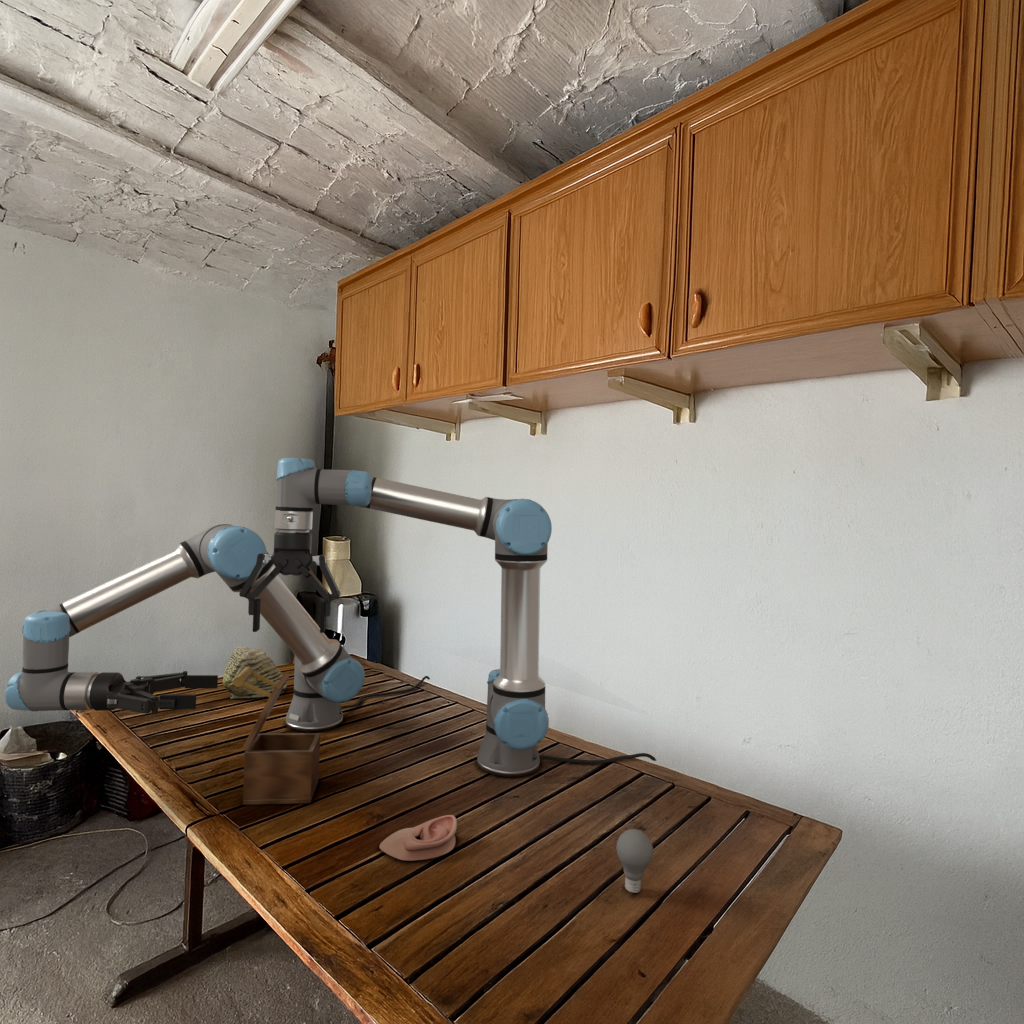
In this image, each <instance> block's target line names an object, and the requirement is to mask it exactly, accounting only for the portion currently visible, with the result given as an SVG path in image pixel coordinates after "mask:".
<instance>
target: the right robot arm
mask: <svg viewBox="0 0 1024 1024" xmlns="http://www.w3.org/2000/svg"><path fill="white" fill-rule="evenodd" d="M315 464H316V463H315V461H314V459H310V458H302V457H301V458H299V457H282V458H280V459H279V460H278V461H277V470H276V478H275V511H274V529H275V530H277V531H275V533H273V552H272V554H270V553H269V554H265V553H260V554H258V556H257V561H256V565H255V567H254V568H253V570H252V572H251V574H250V576H249V577H248V579H247V581H246V583H245V584H244V586H243V588H242V590H241V591H240V592H238V593H239V597H241V598H245V599H247V600H248V606H247V607H248V610H247V612H248V613H247V614H248V616H252V633H257V632H258V631H259V630H260V628H261V614H260V605H261V599H256V598H257V596H258V595H259V594H260V593H261V592H262V591H263V590H264V589H265V588H266V587H267V586H268V585H269V584H270V583H271V582H272V581H273V579H274V578H275V577H276V576H277V575H278V576H279V574H281V575H282V576H291V575H292V576H295V577H298V576H301V575H303V577H305V578H306V579H307V581H308V582H309V583H310V584H311V585H312V587H313V588H314V589H315V590H316V592H317V593H318V594H319V595H320V596H321V597H322V600H321V602H320V618H319V621H320V622H319V628H320V633H324V634H325V631H326V630H327V629H326V628H327V627H326V626H327V617H330V616H331V615H332V607H333V606H332V605H333V601H334V600H338V599H340V597H341V596H342V594H341V591H340V589H339V587H338V585H337V582H336V581H335V578H334V576H333V574H332V571H331V570H330V568H329V566H328V559H327V555H326V554H324V553H323V554H320V555H313V553H312V540H313V534H312V532H310V531H312V529H313V518H314V517H313V515H314V512H313V511H314V508H313V507H314V505H332V506H349V507H359V508H365V509H370V510H375V511H379V512H384V513H388V514H393V515H399V516H402V517H408V518H411V519H416V520H417V519H418V520H422V521H427V522H431V523H435V524H441V525H445V526H450V527H454V528H460V529H464V530H469V531H472V532H474V533H475V534H476V536H477V537H481V538H485V539H489V540H492V541H494V561H495V562H496V563H497V564H498V566H500V568H501V581H500V582H501V583H500V584H501V587H500V599H501V600H500V651H499V652H500V655H499V657H500V659H499V661H500V662H499V664H500V666H499V668H497V669H492V670H490V672H489V673H488V677H487V682H486V684H487V695H486V696H487V697H486V698H487V699H486V718H485V719H486V721H485V723H486V724H485V733H484V735H483V738H482V741H481V744H480V747H479V749H478V752H477V757H476V764H477V766H478V768H479V769H480V770H482V771H483V772H485V773H488V774H490V775H492V776H498V777H505V778H506V777H507V778H517V777H518V778H519V777H524V776H529V775H531V774H533V773H536V771H538V770H539V768H540V763H541V762H540V761H541V760H546V761H547V760H548V761H554V762H562V763H563V762H564V763H574V764H582V765H583V764H585V765H600V764H602V765H603V764H609V763H614V762H618V761H622V760H630V759H636V758H641V757H642V758H644V757H645V758H648V759H650V760H651V761H653V762H656V761H657V759H656V757H655V756H653V754H652V755H651V754H650V753H646V752H638V753H634V754H628V755H625V754H624V755H618V756H615V757H611V758H604V759H578V758H567V757H559V756H550V755H541V754H540V753H539V749H538V746H537V745H539V744H540V743H541V742H542V741H543V740H544V739H545V737H546V736H547V733H548V730H549V727H550V725H549V723H550V720H549V719H550V718H549V714H548V711H547V709H546V682H545V680H544V679H543V678H542V677H541V676H540V621H541V619H540V618H541V617H540V615H541V568H542V567H543V566H544V565H545V564H546V563H547V562H548V547H549V545H548V544H549V541H550V539H551V536H552V529H553V527H552V526H553V525H552V521H551V518H550V515H549V514H548V511H546V509H545V508H544V507H543V506H542V505H541V504H540V503H538V502H536V501H534V500H532V499H530V498H529V499H528V498H512V499H511V498H510V499H509V498H508V499H505V498H503V499H502V498H494V497H489V496H485V497H483V498H481V499H478V498H474V497H470V496H464V495H460V494H455V493H450V492H445V491H441V490H437V489H432V488H428V487H422V486H419V485H413V484H408V483H405V482H399V481H394V480H390V479H385V478H381V477H375V476H372V474H371V473H370V472H368V471H365V470H356V469H323V468H317V467H316V465H315ZM269 560H271V561H272V562H273V564H274V569H273V570H272V571H271V573H270V574H269V575H268V576H267V577H266V578H265V579H264V580H263V581H262V582H261V583H260V584H259V586H258V587H257V588H256V589H255V590H254V591H253V592H250V590H251V588H252V586H253V584H254V582H255V581H256V579H257V577H258V575H259V574H260V572H261V570H262V568H263V566H264V564H267V563H268V561H269ZM313 562H314V563H315V565H316V566H319V568H320V571H321V572H322V576H323V577H324V580H325V582H326V583H327V587H328V588H329V591H330V592H329V591H328V589H327V588H326V587H325V586H324V585H323V583H322V582H321V581H320V580H319V578H318V577H317V576H316V575H315V573H314V571H313V570H312V569H311V568H310V566H311V565H312V563H313Z"/></svg>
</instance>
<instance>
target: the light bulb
mask: <svg viewBox="0 0 1024 1024" xmlns="http://www.w3.org/2000/svg"><path fill="white" fill-rule="evenodd" d="M615 849H616V854H617V857H618V859H619V861H620V863H621V865H622V867H623V873H624V874H623V875H624V876H625V878H624V888H625V890H627V891H628V892H630V893H634V894H635V893H639V892H640V891H641V889H642V887H641V886H642V879H643V877H644V875H645V871H646V868H647V867H648V866H649V864H650V863H651V861H652V859H653V855H654V847H653V843H652V841H651V838H649V836H648V835H647V834H646V833H645V832H643V831H642V830H641V829H636V828H629V829H627V830H625V831H623V832H622V833H621V834H620V835H619V837H618V839H617V841H616V847H615Z"/></svg>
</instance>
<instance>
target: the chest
mask: <svg viewBox="0 0 1024 1024" xmlns="http://www.w3.org/2000/svg"><path fill="white" fill-rule="evenodd" d="M320 751H321V732H288V733H285V732H283V733H282V732H278V733H277V732H275V733H274V732H273V733H272V732H270V733H264V732H263V733H259V734H258V735H257V737H256V738H255V740H254V741H253V742H252V744H251V745H250V747H249V748H248V750H245V751H244V757H243V758H244V759H243V785H242V786H243V787H242V806H243V805H245V806H246V805H247V806H248V805H289V804H291V805H292V804H311V803H312V800H313V797H314V794H315V791H316V789H317V786H318V783H319V781H320V780H319V777H320V776H319V775H320V755H321V754H320Z"/></svg>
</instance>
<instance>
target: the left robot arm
mask: <svg viewBox="0 0 1024 1024" xmlns="http://www.w3.org/2000/svg"><path fill="white" fill-rule="evenodd" d="M260 553H265V554H270V553H269V552H268V551H267V546H266V544H265V542H264V540H263V538H261V536H260V535H259V534H258V533H256V531H254V530H252V529H250V528H248V527H245V526H240V525H233V524H229V523H221V524H216V525H213V526H210V527H209V528H207V529H205V530H202V531H201V532H199V533H197V534H195V535H194V536H191V537H189V538H187V539H186V540H183V541H181V542H179V543H177V545H176V548H175V549H174V550H172V551H169V552H168V553H165V554H164V555H161V556H159V557H157V558H155V559H153V560H151V561H149V562H147V563H143V564H142V565H140V566H138V567H136V568H133V569H131V570H129V571H127V572H125V573H123V574H121V575H119V576H116V577H115V578H112V579H110V580H108V581H106V582H104V583H102V584H100V585H99V584H98V585H97V586H95V587H93V588H91V589H88V590H86V591H85V592H82V593H79V594H78V595H76V596H74V597H72V598H69V599H67V600H65V601H62V603H59V604H57V605H54V606H52V607H49V608H48V609H41V610H38V611H35V612H33V613H32V614H29V615H27V616H26V617H24V621H23V625H22V627H21V630H22V631H21V633H22V666H21V667H22V668H21V669H22V670H21V671H20V672H16V673H14V674H13V675H12V676H11V677H10V679H9V680H8V681H7V684H6V685H7V686H6V689H5V690H4V700H5V703H6V705H7V707H9V708H10V709H11V710H15V711H29V712H46V711H47V712H49V711H50V712H51V711H52V712H56V711H77V712H78V713H79V714H82V713H84V711H93V710H94V711H97V712H98V711H115V710H117V709H119V710H123V711H124V710H125V711H130V712H134V713H140V714H146V715H147V714H151V715H158V714H159V710H195V709H196V708H197V694H196V693H195V694H194V693H191V694H187V693H185V694H183V693H182V694H181V693H179V694H175V693H173V694H164V693H163V694H160V695H159V696H158V695H155V693H157V692H163V691H169V690H175V689H180V688H184V689H218V687H219V686H218V685H219V675H218V674H216V675H215V674H212V675H211V674H191V675H190V674H188V670H183V671H182V672H173V673H164V674H154V675H137V676H135V678H133V679H130V680H128V681H126V680H125V678H124V676H123V673H121V672H118V671H117V672H116V671H115V672H114V671H112V672H111V671H109V672H108V671H107V672H106V671H103V672H98V671H69V653H70V651H69V650H70V638H72V637H73V636H75V635H77V634H79V633H81V632H83V631H86V630H87V629H89V628H91V627H93V626H95V625H97V624H99V623H101V622H103V621H105V620H107V619H109V618H111V617H114V616H115V615H118V614H119V613H121V612H123V611H125V610H128V609H130V608H131V607H134V606H136V605H138V604H139V603H141V602H144V601H146V600H147V599H149V598H152V597H154V596H156V595H158V594H159V593H162V592H164V591H166V590H168V589H170V588H172V587H174V586H176V585H178V584H180V583H182V582H184V581H186V580H188V579H191V578H193V579H200V578H201V577H204V576H206V575H209V574H212V573H216V574H217V575H218V576H219V578H221V580H222V581H223V582H224V584H226V586H227V587H228V588H229V589H230V590H231V591H232V592H233V593H240V591H241V590H242V588H243V586H244V584H245V583H246V581H247V579H248V577H249V576H250V574H251V572H252V570H253V568H254V567H255V565H256V561H257V556H258V554H260ZM274 568H275V565H274V564H273V562H272V561H271V560H269V561H268V563H267V564H264V566H263V568H262V570H261V572H260V574H259V575H258V577H257V579H256V581H255V582H254V584H253V586H252V588H251V590H250V592H253V591H254V590H255V589H256V588H257V587H258V586H259V584H260V583H261V582H262V581H263V580H264V579H265V578H266V577H267V576H268V575H269V574H270V573H271V571H272V570H273V569H274ZM256 599H261V605H260V616H262V618H263V619H264V620H265V621H266V623H268V624H269V626H270V627H271V628H272V629H273V630H274V632H275V633H276V634H277V635H278V636H279V638H280V639H281V640H282V641H283V643H284V644H285V645H286V646H287V647H288V648H289V650H290V651H291V652H292V653H293V654H294V655H293V656H294V672H293V695H292V696H293V697H292V699H291V702H290V704H289V708H288V711H287V713H286V715H285V726H286V728H287V729H289V730H291V731H294V732H295V731H296V732H300V733H319V732H325V731H329V730H332V729H335V728H337V727H339V726H340V725H342V723H343V722H344V714H343V710H344V709H352V708H356V707H358V706H359V705H360V703H361V701H362V700H364V699H367V698H371V697H382V696H388V695H396V694H403V693H408V692H411V691H414V690H415V689H417V688H418V687H419V686H420V685H421V684H423V682H424V681H425V680H426V679H427V680H429V681H430V680H431V678H430V676H428V675H424V676H423V678H421V680H420V681H419V682H417V683H416V684H415V685H414V686H412V687H409V688H407V689H401V690H393V691H387V692H377V693H370V694H365V695H363V696H361V697H359V698H358V700H357V702H356V703H353V704H346V705H341V704H344V703H347V702H350V701H351V700H352V699H354V698H356V696H357V695H358V694H359V693H360V691H361V690H362V688H363V686H364V682H365V678H366V673H365V669H364V667H363V665H362V664H361V663H360V662H359V660H357V659H356V658H354V657H352V656H351V655H350V654H349V653H348V652H347V650H346V649H345V647H344V646H343V645H342V644H341V643H340V641H339V640H338V639H334V638H329V637H328V636H327V635H326V633H325V632H324V633H320V625H318V623H316V621H315V620H314V619H313V618H312V616H311V615H310V614H309V612H308V611H307V610H306V609H305V608H304V606H303V605H302V604H301V602H300V601H299V600H298V599H297V598H296V596H295V595H294V594H293V593H292V592H291V590H290V589H289V588H288V586H287V585H286V584H285V583H284V581H283V579H281V578H280V576H279V574H278V575H277V576H276V577H275V578H274V579H273V581H272V582H271V583H270V584H269V585H268V586H267V587H266V588H265V589H264V590H263V591H262V592H261V593H260V594H259V595H258V596H257V598H256Z"/></svg>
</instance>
